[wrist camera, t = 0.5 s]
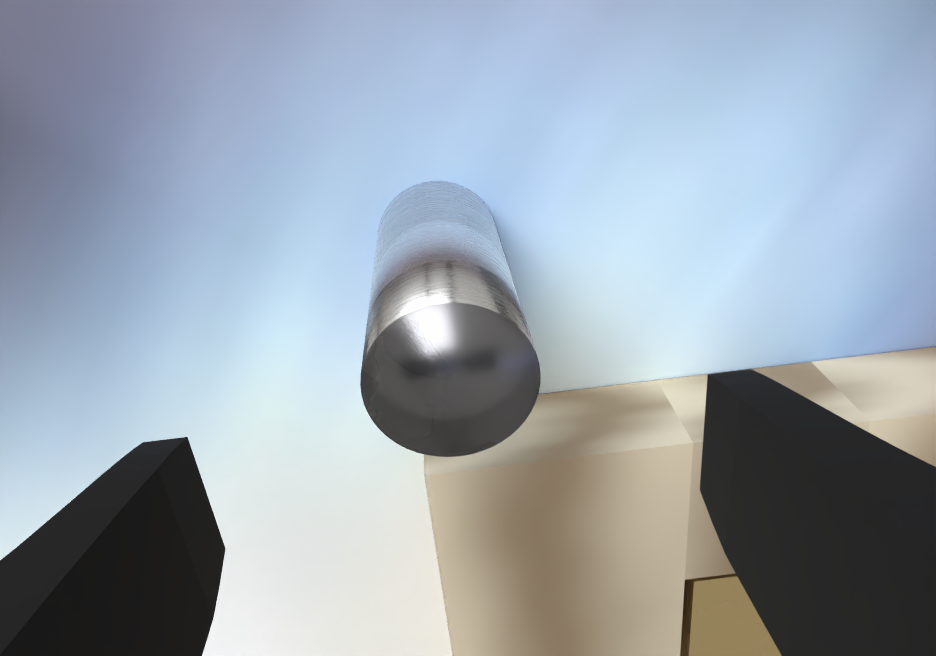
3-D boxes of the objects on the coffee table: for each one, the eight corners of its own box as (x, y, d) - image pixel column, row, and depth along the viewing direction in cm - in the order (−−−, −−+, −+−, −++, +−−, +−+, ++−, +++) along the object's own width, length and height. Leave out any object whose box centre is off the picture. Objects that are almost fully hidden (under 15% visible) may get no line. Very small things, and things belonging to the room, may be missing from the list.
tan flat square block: (811, 545, 21) (825, 565, 20) (796, 633, 23) (808, 654, 22) (684, 560, 21) (694, 581, 20) (679, 647, 23) (687, 669, 22)
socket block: (1040, 334, 21) (1132, 389, 18) (939, 657, 27) (996, 733, 25) (422, 408, 20) (424, 475, 18) (469, 718, 27) (475, 801, 24)
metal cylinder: (491, 174, 17) (535, 292, 11) (500, 286, 19) (544, 446, 13) (369, 188, 17) (346, 314, 11) (387, 299, 19) (375, 466, 13)
